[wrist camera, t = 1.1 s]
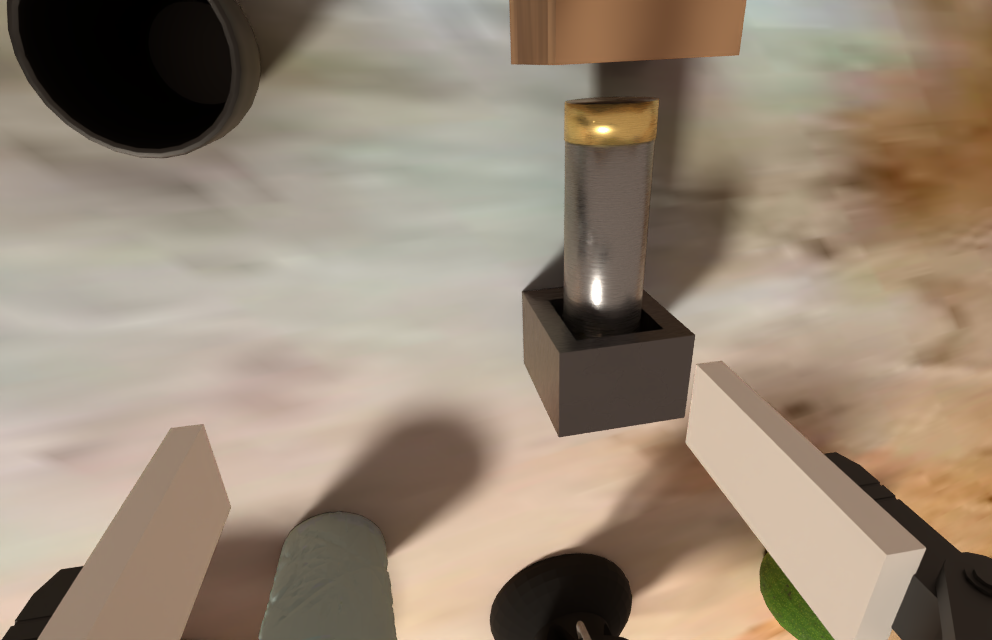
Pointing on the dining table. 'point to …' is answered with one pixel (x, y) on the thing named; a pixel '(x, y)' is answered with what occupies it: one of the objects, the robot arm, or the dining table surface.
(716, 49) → the socket
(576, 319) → the tube
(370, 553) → the grey green textured cup
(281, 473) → the dining table surface
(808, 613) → the fruit
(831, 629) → the robot arm
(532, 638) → the lantern
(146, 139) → the mug
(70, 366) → the dining table surface
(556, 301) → the sleeve
